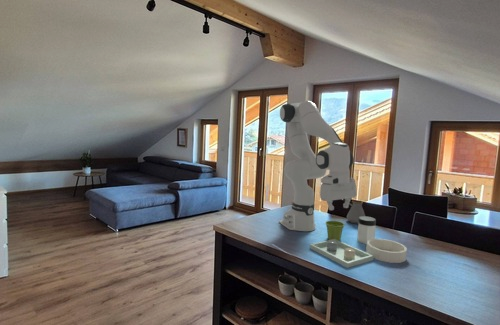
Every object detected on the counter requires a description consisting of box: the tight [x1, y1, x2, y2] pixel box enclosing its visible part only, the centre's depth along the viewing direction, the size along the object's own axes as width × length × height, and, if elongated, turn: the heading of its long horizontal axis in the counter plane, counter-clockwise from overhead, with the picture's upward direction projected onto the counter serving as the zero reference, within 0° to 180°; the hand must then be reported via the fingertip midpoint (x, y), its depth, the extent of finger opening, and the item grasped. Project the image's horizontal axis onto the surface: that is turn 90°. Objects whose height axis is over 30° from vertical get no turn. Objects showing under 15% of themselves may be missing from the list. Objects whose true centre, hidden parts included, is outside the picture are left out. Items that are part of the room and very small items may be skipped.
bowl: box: [365, 238, 408, 264], centre depth 130 cm, size 16×16×5 cm
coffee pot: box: [340, 199, 366, 225], centre depth 184 cm, size 21×12×15 cm, turn 45°
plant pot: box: [325, 220, 345, 241], centre depth 149 cm, size 9×9×9 cm
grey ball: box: [326, 240, 337, 252], centre depth 134 cm, size 4×4×4 cm
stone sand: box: [344, 248, 355, 260], centre depth 126 cm, size 4×4×4 cm
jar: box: [356, 215, 377, 246], centre depth 147 cm, size 9×8×12 cm
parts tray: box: [309, 239, 374, 269], centre depth 130 cm, size 22×16×2 cm
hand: (338, 208), depth 132 cm, fingers open, 8 cm apart
